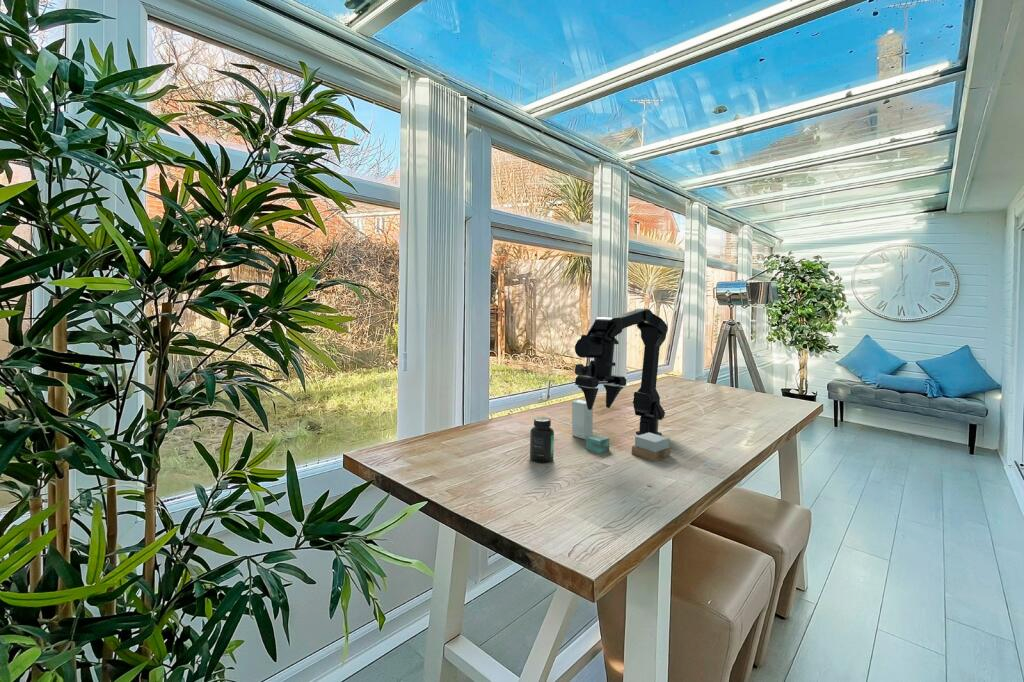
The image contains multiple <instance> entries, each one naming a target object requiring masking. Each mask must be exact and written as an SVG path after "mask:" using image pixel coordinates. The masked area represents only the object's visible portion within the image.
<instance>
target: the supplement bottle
mask: <svg viewBox="0 0 1024 682" xmlns="http://www.w3.org/2000/svg"><path fill="white" fill-rule="evenodd" d="M551 423H552V420H551V418H550V417H547V416H546V417H544V416H538V417H534V419H533V427H532V428H531V429H530V432H529V459H530V461H531V462H534V463H535V464H549V463H551V462H552V461H554V454H555V453H554V451H555V450H554V448H555V442H554V441H555V432H554V431H555V430H554V428H552V427H551V426H552V424H551Z"/></svg>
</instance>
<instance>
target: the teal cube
mask: <svg viewBox="0 0 1024 682" xmlns="http://www.w3.org/2000/svg"><path fill="white" fill-rule="evenodd" d="M585 440H586V444H585V447H586V448H585V449H586V450H588V451H590V452H593V453H596V454H601V453H604V452H605V453H606V452H607V451H610V443H611V441H610V437H609V436H608V437H607V436H604V435H601V434H597V433H596V434H593V435H592V436H588V437H586V439H585Z"/></svg>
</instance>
